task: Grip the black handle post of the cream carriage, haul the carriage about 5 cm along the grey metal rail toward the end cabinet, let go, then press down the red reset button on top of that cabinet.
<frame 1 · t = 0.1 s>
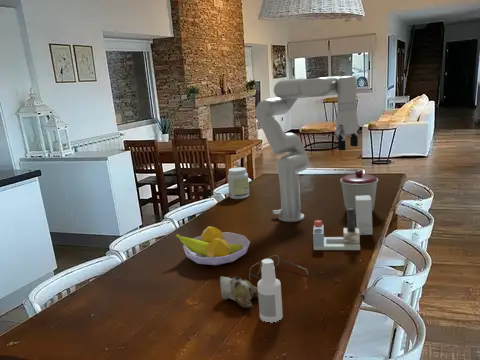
hand: (348, 148, 180), 37 cm above the table, fingers open, 9 cm apart
canister: (359, 211, 214), on the table
rail board: (336, 245, 176), on the table
skincare box: (363, 232, 188), on the table
carriage: (351, 225, 172), point 9 cm above the table, slide at 0.0 cm
fruit bowl: (215, 258, 173), on the table
reset button: (318, 223, 175), point 9 cm above the table, slide at 0.0 cm
eyeglasses: (277, 278, 153), on the table
white bottle: (271, 317, 128), on the table
supplement tub: (239, 196, 258), on the table
ceramic sculpture: (241, 301, 138), on the table
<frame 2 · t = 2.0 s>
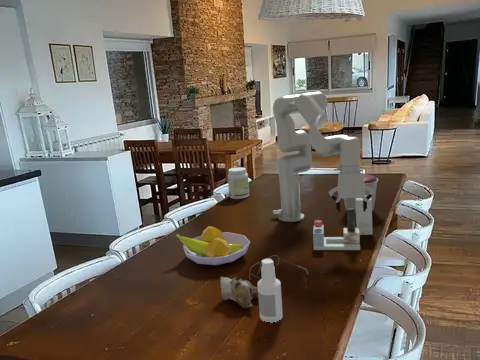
hand: (351, 211, 171), 15 cm above the table, fingers open, 9 cm apart
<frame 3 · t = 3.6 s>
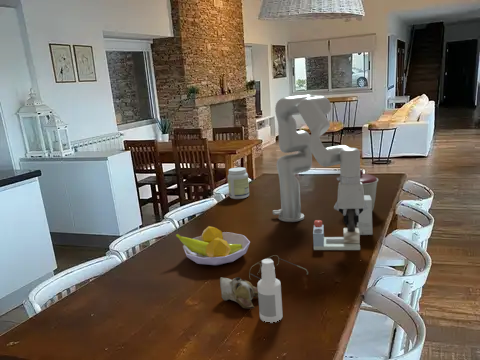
hand: (351, 223, 172), 9 cm above the table, fingers closed on carriage, 3 cm apart
carriage: (351, 225, 172), point 9 cm above the table, slide at 0.0 cm, touching gripper
everything else where it was.
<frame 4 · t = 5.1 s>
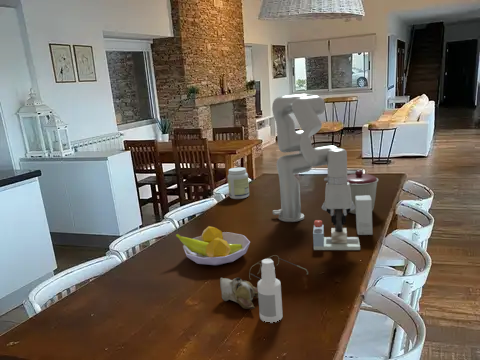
hand: (338, 223, 173), 9 cm above the table, fingers closed on carriage, 3 cm apart
carriage: (338, 225, 173), point 9 cm above the table, slide at 4.9 cm, touching gripper
everything else where it was.
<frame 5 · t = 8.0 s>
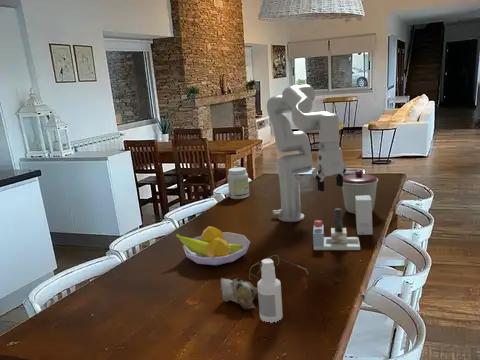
hand: (330, 188, 170), 24 cm above the table, fingers open, 9 cm apart
carriage: (338, 225, 173), point 9 cm above the table, slide at 5.0 cm
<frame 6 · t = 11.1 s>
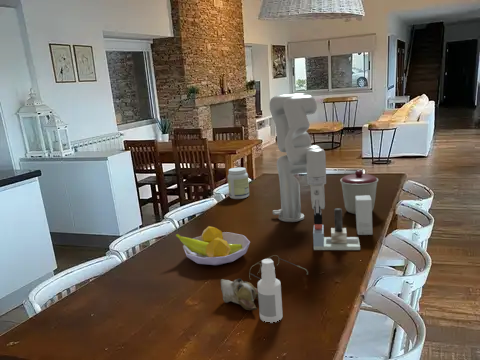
hand: (318, 223, 175), 9 cm above the table, fingers closed
reset button: (318, 225, 175), point 8 cm above the table, slide at 0.9 cm, touching gripper
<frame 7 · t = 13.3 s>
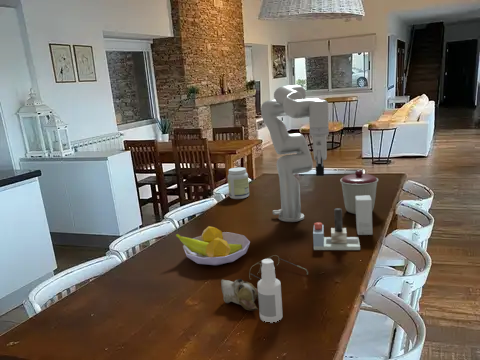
hand: (320, 175, 177), 28 cm above the table, fingers closed
reset button: (318, 225, 175), point 8 cm above the table, slide at 1.0 cm
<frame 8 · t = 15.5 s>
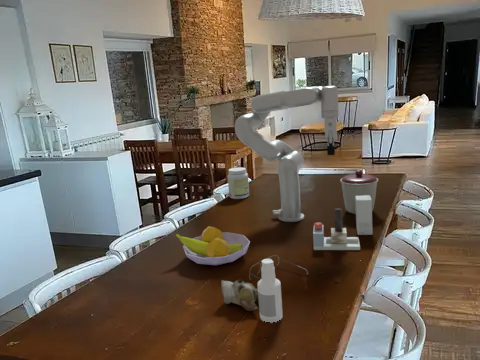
hand: (331, 154, 196), 32 cm above the table, fingers closed
at the end: carriage slide at 5.0 cm; reset button slide at 1.0 cm; the gripper is holding nothing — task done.
